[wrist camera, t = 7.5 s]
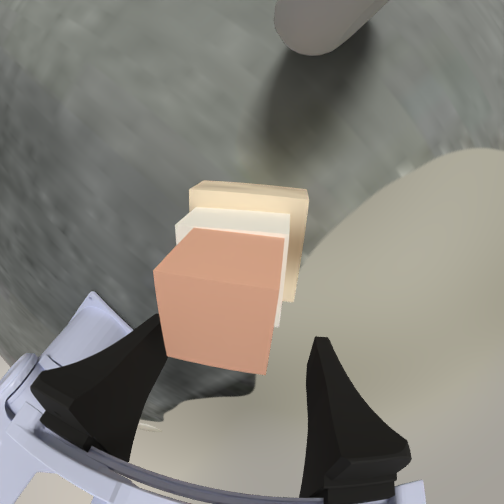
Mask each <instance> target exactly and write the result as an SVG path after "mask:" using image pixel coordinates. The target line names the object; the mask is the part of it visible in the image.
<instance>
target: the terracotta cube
mask: <svg viewBox="0 0 504 504" xmlns="http://www.w3.org/2000/svg"><path fill="white" fill-rule="evenodd" d="M284 240H285V238H279V237H271V236H263V235H255V234H247V233H238V232H229V231H220V230H212V229H202V228H193V229H192V230H191V231H190V232H189V233H188V234H187V235H186V236H185V237H184V238H183V239H182V240H181V241H180V242H179V243H178V245H177V246H176V247H175V248H174V249H173V250H172V251H171V252H170V253H169V254H168V255H167V256H166V257H165V258H164V259H163V261H162V262H161V263H160V264H159V265H158V266H157V267H156V268H155V269H154V270H153V274H154V282H155V289H156V296H157V303H158V310H159V316H160V322H161V328H162V333H163V339H164V344H165V349H166V354H167V356H169V357H173V358H177V359H181V360H185V361H190V362H194V363H199V364H203V365H208V366H213V367H218V368H224V369H229V370H235V371H241V372H247V373H254V374H261V375H266V370H267V365H268V359H269V352H270V347H271V341H272V335H273V328H274V322H275V316H276V309H277V303H278V296H279V289H280V280H281V270H282V261H283V251H284Z"/></svg>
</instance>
